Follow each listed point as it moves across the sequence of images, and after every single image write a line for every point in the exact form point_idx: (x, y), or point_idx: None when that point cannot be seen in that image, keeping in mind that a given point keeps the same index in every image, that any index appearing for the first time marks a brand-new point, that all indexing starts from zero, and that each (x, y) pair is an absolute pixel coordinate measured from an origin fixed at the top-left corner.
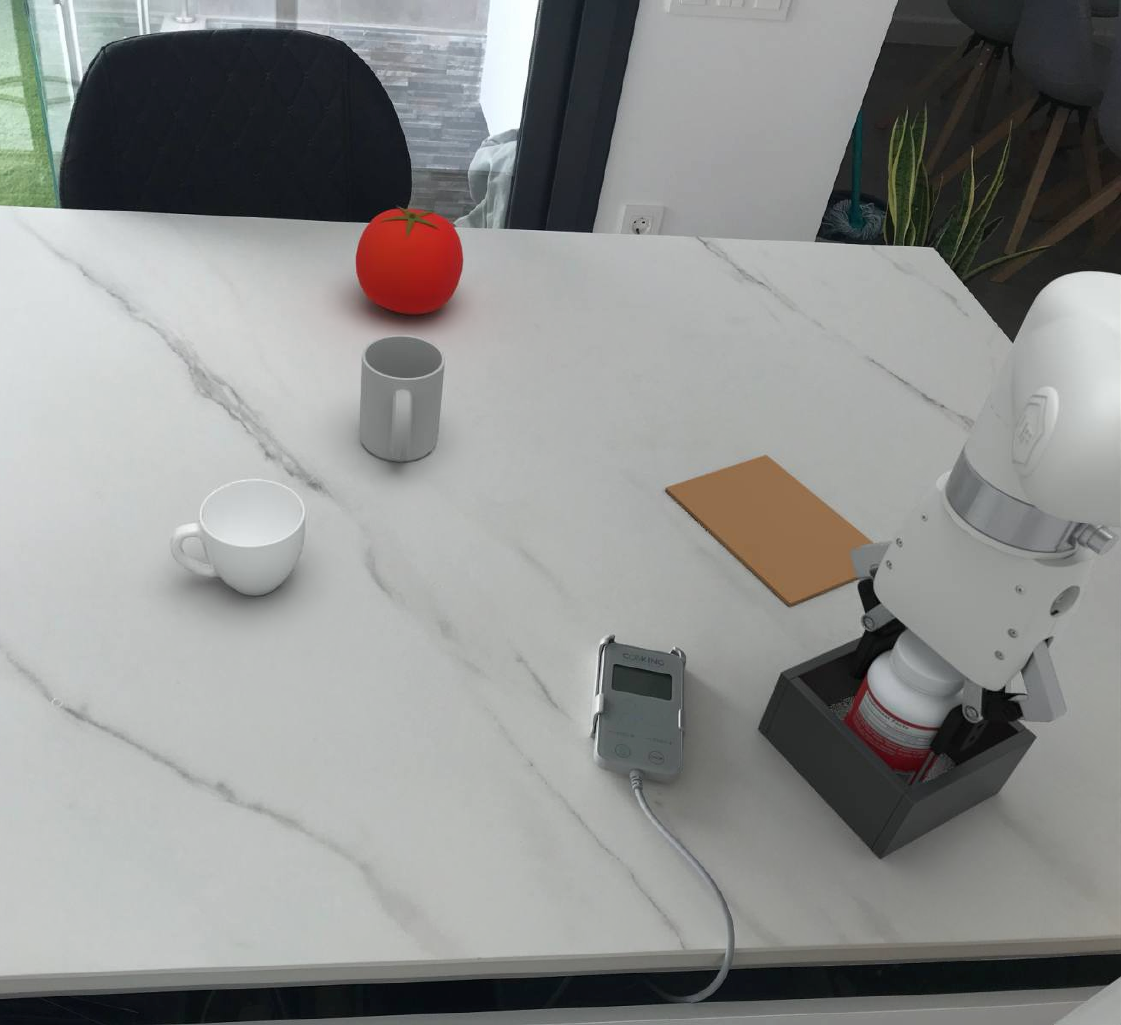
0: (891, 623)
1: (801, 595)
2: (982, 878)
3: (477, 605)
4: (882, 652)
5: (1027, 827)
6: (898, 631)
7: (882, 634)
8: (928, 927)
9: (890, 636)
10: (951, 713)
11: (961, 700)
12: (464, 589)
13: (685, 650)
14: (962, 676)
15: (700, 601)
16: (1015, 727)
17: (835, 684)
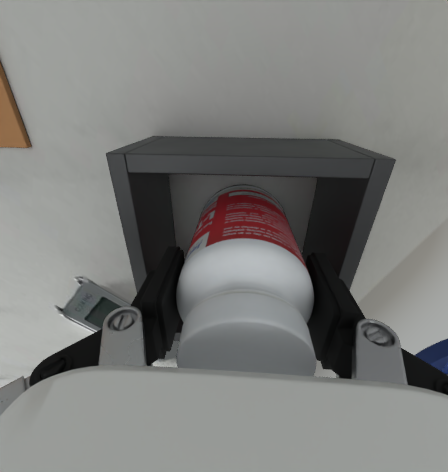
0: (149, 351)
1: (12, 122)
2: (371, 235)
3: (18, 352)
4: (175, 303)
5: (382, 150)
6: (161, 317)
7: (160, 349)
8: (358, 295)
9: (166, 332)
10: (321, 362)
11: (306, 303)
12: (2, 351)
13: (79, 274)
14: (308, 372)
15: (19, 227)
16: (361, 177)
17: (163, 237)
